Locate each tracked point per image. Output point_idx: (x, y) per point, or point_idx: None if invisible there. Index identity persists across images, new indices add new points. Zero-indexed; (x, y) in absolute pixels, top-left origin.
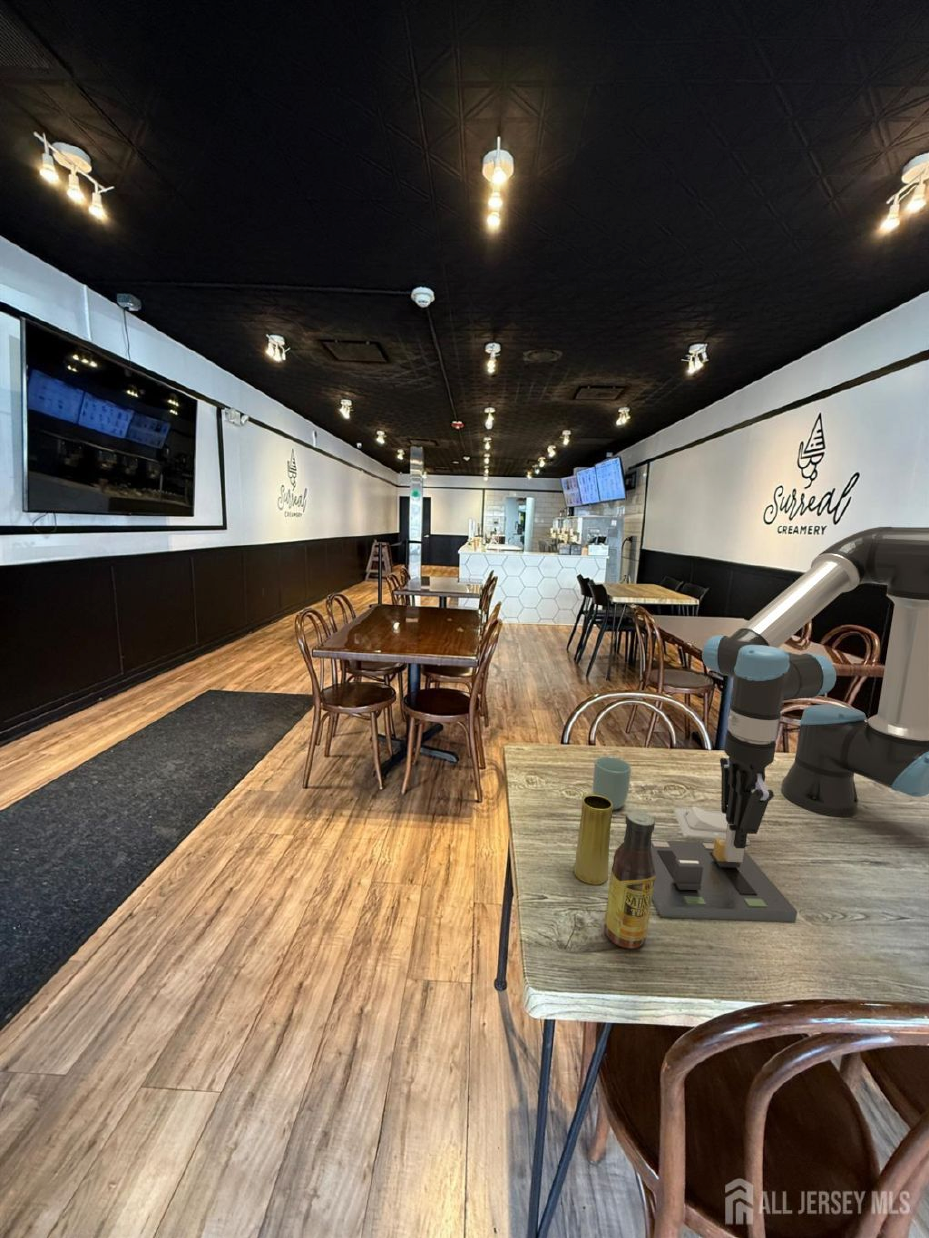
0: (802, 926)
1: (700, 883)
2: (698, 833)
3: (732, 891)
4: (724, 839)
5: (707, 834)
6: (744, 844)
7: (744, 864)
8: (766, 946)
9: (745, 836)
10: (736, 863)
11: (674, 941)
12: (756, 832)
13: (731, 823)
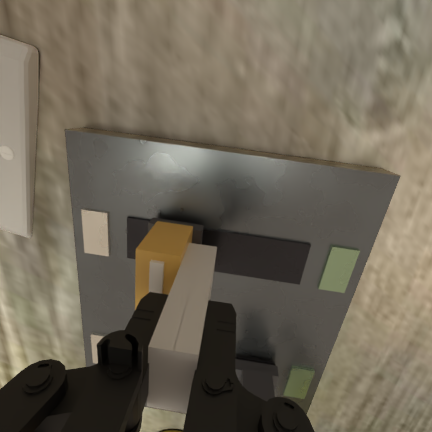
0: (398, 159)
1: (272, 375)
2: (13, 202)
3: (285, 294)
4: (139, 293)
5: (13, 179)
6: (235, 324)
7: (179, 188)
8: (416, 288)
9: (234, 361)
10: (200, 242)
11: (349, 415)
12: (309, 426)
13: (146, 397)
